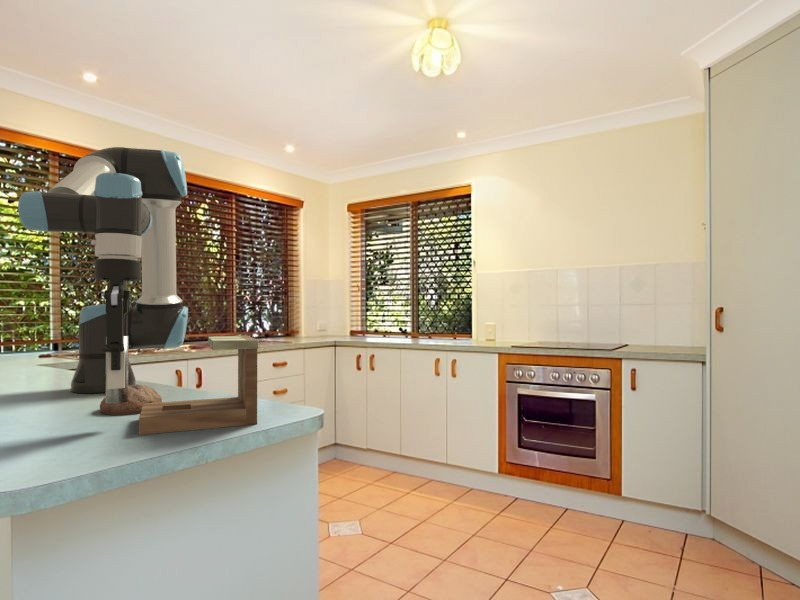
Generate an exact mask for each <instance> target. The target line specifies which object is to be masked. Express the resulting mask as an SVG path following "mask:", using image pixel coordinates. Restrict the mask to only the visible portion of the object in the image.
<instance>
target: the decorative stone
mask: <svg viewBox="0 0 800 600" xmlns="http://www.w3.org/2000/svg"><path fill="white" fill-rule="evenodd" d="M159 402H163V400H162V397H161V395H160V394H159V393H158V392H157V391H156V390H155V389H153V388H151V387H149V386H147V385H145V384H136V385H129V386H128V401H127V402H124V403H116V404H108V403H106V396H105V397H104V398H103V399H101V401H100V404H99V411H100V412H101V414H103V415H111V416H125V415H137V414H139V415H140V413H141V410H142V407H143V404H144V403H159Z"/></svg>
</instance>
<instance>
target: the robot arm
mask: <svg viewBox="0 0 800 600" xmlns="http://www.w3.org/2000/svg"><path fill="white" fill-rule="evenodd" d="M186 196H188V185H187V177H186V171H185V167H184V162H183V159H182V156H181V155H180V154H179V153H177V152H174V151H168V150H163V149H146V148H133V147H124V146H123V147H122V146H113V147H106V148H102V149H99V150H96V151H92V152H89V153H88V154H86V155H84V156H82V157H81V158H79V159H78V160H77V161H76V162H75V164H74V166H73V171H71V172H69V173H68V174H67V175H66V176H65V177H63V178H62V179H61V180H60V181H58V183H56V184H55V185H54V186H53V187H51V188H50V189H49V190H47V191H40V190H37V191H25V192H22V194H21V195H20V196H19V200H18V204H17V209H18V210H17V211H18V217H19V221H20V223H21V225H22V226H23V227H24V228H25V229H27V230H29V231H35V232H36V231H37V232H45V233H51V232H52V233H80V234H83V233H85V234H86V233H87V234H94V238H95V239H91V241H90V245H92V246H94V256H95V257H97V258H98V259H95V260H94V271H93V272H94V279H95V280H96V281H106V282H107V281H108V282H109V283H108V290H104V299H105V303H102V304H94V305H93V304H92V305H88V306H84V307H83V308H81V310H80V311H79V320H78V325H77V326H78V364H77V365H76V369H75V371H74V374H73V377H72V379H71V382H70V392H72V393H76V394H99V393H100V394H101V393H106V352H107V389H116V388H125V352H124V349H125V347H124V336H128V386H129V385H136V377H135V374H134V372H133V367H132V365H131V361H130V360H129V359H130V358H129V351H130V350H146V349H147V350H151V349H152V350H154V349H157V350H158V349H163V350H167V349H177V348H180V347H181V346H182V345H183V343H184V340H185V337H186V332H187V326H188V320H189V319H188V317H189V307H187V306H183V299H181V297H180V296H178V294H177V237H176V236H177V233H176V231H177V229H176V226H177V225H176V224H177V223H176V220H177V219H176V211H177V210H176V209H177V207H179V206H180V204H182V197H186ZM140 258H141V262H140V260H139V259H140ZM140 280H141V285H142V286H141V287H142V288H141V289H142V293H141V296H140V297H139V298H138V299H136V304H135V306H130V301H131V299H132V293H131V292H132V291H131V290H128V289H127V282H137V281H138V282H139V281H140ZM106 337H107V344H106Z"/></svg>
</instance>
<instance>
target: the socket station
mask: <svg viewBox="0 0 800 600" xmlns="http://www.w3.org/2000/svg"><path fill="white" fill-rule="evenodd" d="M207 345H208V346H209V347H210V349H212V350H213V351H227V350H237V378H238V379H237V396H233V397H232V396H231V397H230V396H229V397H217V398H207V399H206V398H205V399H204V398H202V399H192V400H191V399H190V400H177V401H176V400H175V401H162V402H159V403H144V404H143V407H142V410H141V413H140V414H139V417H138V435H139V436H140V435H153V434H163V433H174V432H175V433H176V432H185V431H186V432H187V431H196V430H205V429H218V428H227V427H228V428H230V427H238V426H249V425H250V426H251V425H257V424H258V349H259V340H258V339H256V338H254V337H251V336H250V335H227V336H226V335H219V336H217V335H215V336H213V335H212V336H211V335H210V336H207Z"/></svg>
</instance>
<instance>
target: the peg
mask: <svg viewBox="0 0 800 600" xmlns="http://www.w3.org/2000/svg"><path fill="white" fill-rule="evenodd" d="M106 344H107V337H106ZM124 347H125V349H124V352H125V388H116V389H107V352H106V392H105V397H106V403H108V404H116V403H124V402H127V401H128V336H124Z"/></svg>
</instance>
